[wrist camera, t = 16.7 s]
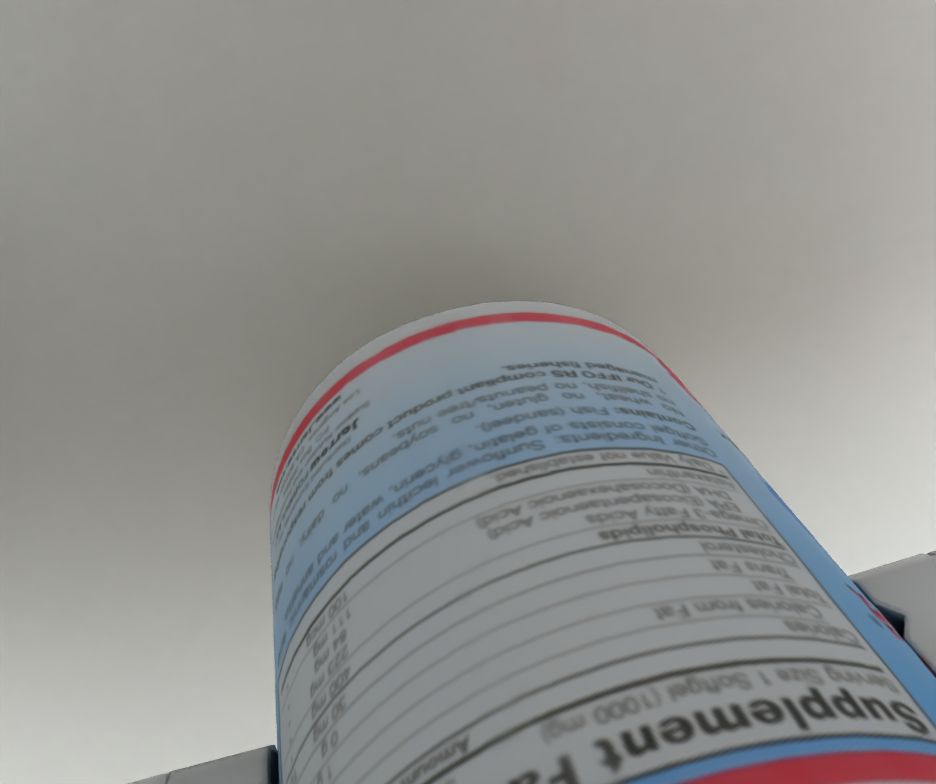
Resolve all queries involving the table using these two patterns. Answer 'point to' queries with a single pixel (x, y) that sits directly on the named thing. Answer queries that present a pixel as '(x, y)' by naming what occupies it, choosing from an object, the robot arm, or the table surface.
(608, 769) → the pill bottle
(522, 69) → the table surface
